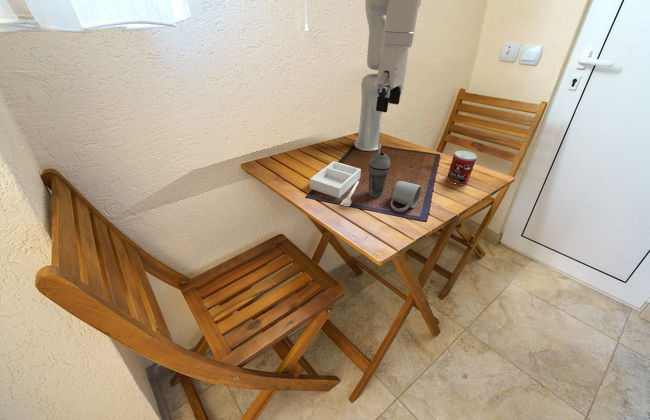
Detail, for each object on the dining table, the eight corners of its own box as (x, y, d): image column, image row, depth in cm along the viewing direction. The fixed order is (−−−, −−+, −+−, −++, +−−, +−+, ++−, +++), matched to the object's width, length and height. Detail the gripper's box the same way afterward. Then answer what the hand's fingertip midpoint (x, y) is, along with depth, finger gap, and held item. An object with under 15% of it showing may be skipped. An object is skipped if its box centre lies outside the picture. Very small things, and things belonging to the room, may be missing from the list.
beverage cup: (385, 201, 98) (394, 146, 86) (363, 198, 99) (370, 143, 88) (385, 190, 104) (394, 137, 92) (365, 187, 105) (372, 135, 93)
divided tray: (333, 170, 116) (333, 161, 113) (359, 178, 111) (361, 169, 108) (309, 188, 104) (309, 178, 101) (338, 198, 99) (339, 188, 96)
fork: (362, 183, 109) (362, 179, 108) (347, 210, 93) (347, 206, 92) (354, 182, 110) (354, 177, 109) (337, 208, 94) (338, 204, 93)
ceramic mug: (396, 194, 102) (400, 175, 98) (418, 201, 98) (423, 182, 94) (384, 208, 95) (387, 188, 90) (407, 216, 91) (412, 196, 87)
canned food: (443, 180, 111) (451, 154, 104) (451, 173, 116) (459, 148, 109) (462, 188, 107) (472, 161, 100) (470, 180, 112) (480, 154, 105)
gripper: (395, 37, 82) (386, 99, 92) (371, 41, 69) (363, 112, 79) (421, 38, 79) (409, 103, 88) (400, 43, 66) (389, 117, 76)
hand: (387, 107), depth 84 cm, fingers open, 9 cm apart
